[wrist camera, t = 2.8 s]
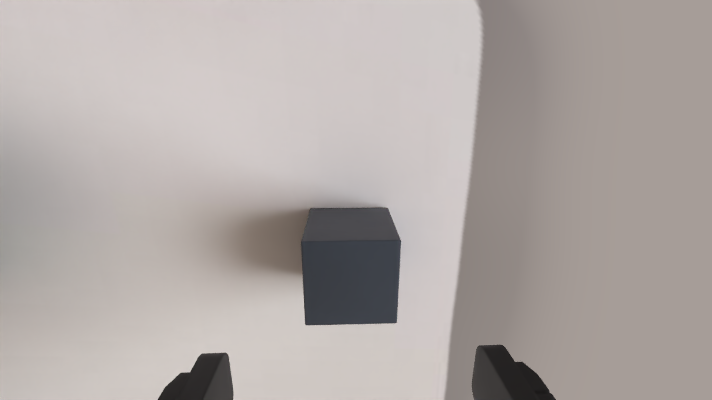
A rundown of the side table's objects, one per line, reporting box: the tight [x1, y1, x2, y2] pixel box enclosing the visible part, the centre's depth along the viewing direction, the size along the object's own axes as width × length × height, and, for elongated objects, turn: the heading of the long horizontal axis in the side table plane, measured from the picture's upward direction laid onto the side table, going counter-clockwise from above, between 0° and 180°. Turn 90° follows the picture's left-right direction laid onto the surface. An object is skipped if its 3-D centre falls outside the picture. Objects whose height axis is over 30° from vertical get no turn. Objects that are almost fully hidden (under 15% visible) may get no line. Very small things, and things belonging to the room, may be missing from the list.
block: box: [301, 208, 401, 325], centre depth 17 cm, size 4×4×4 cm
